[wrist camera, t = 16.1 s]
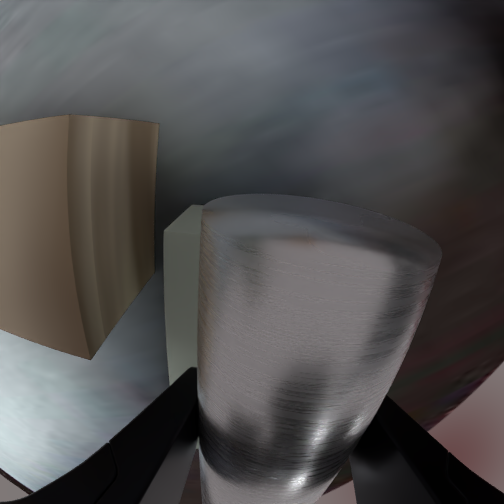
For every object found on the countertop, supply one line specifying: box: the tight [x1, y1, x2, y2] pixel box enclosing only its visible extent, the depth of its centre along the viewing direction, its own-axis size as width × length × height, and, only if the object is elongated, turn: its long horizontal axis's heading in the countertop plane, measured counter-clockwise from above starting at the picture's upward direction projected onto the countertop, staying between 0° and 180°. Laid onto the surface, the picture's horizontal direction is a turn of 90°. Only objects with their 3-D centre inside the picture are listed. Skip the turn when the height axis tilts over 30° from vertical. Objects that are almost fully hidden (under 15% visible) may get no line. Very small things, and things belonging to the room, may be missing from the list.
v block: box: [164, 204, 204, 449], centre depth 11 cm, size 7×10×4 cm
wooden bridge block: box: [0, 115, 159, 360], centre depth 9 cm, size 11×6×6 cm, turn 84°
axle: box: [197, 194, 442, 504], centre depth 8 cm, size 16×4×4 cm, turn 174°
